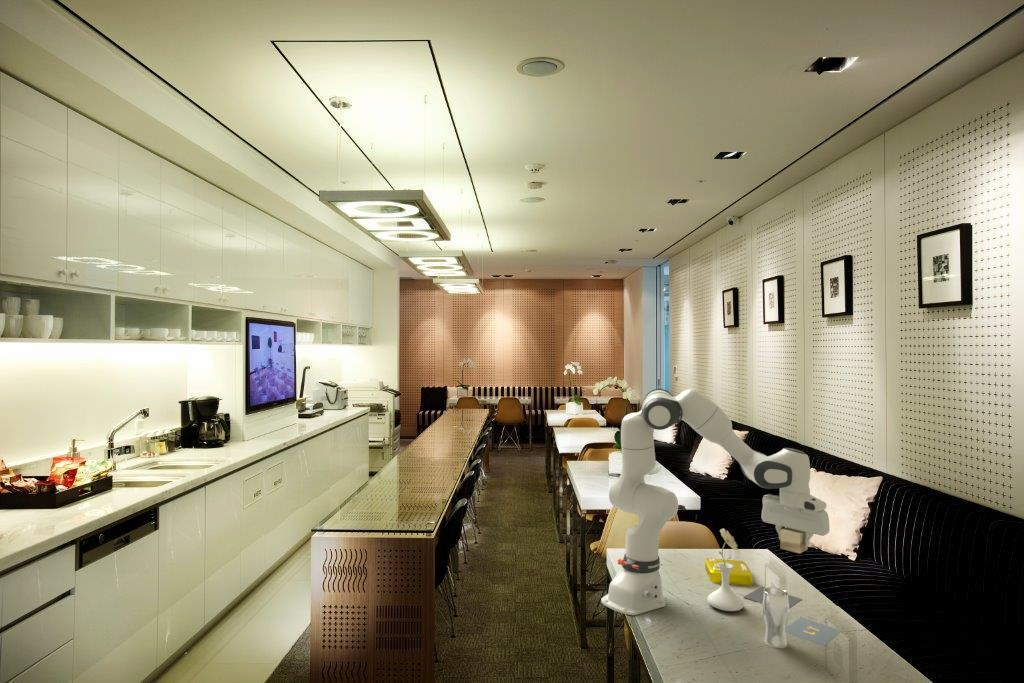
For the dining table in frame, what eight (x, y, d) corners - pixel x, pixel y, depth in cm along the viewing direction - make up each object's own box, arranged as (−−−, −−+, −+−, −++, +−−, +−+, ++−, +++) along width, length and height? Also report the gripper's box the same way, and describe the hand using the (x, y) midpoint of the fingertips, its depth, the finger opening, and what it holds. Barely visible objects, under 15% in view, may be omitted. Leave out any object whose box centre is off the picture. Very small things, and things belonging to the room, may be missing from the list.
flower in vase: (746, 616, 184) (747, 538, 184) (709, 612, 186) (710, 535, 187) (739, 599, 197) (739, 526, 197) (704, 596, 199) (705, 523, 199)
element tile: (753, 587, 208) (753, 574, 208) (710, 583, 211) (710, 570, 211) (744, 571, 223) (744, 559, 223) (704, 568, 225) (704, 556, 226)
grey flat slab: (824, 646, 166) (824, 645, 166) (781, 631, 175) (781, 630, 175) (841, 631, 175) (841, 630, 175) (800, 617, 184) (800, 616, 184)
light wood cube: (799, 553, 180) (799, 534, 181) (780, 548, 185) (780, 529, 185) (807, 549, 184) (807, 530, 185) (788, 544, 189) (788, 526, 189)
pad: (784, 611, 188) (784, 610, 188) (743, 597, 198) (743, 596, 198) (802, 599, 197) (802, 599, 197) (761, 587, 207) (761, 586, 207)
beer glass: (766, 635, 172) (766, 584, 172) (791, 642, 168) (791, 591, 168) (759, 644, 167) (759, 592, 167) (785, 652, 162) (785, 598, 162)
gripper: (758, 494, 191) (757, 536, 190) (824, 507, 175) (823, 553, 175) (767, 491, 195) (766, 532, 195) (831, 504, 180) (831, 548, 179)
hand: (793, 542), depth 185 cm, fingers closed on light wood cube, 6 cm apart
